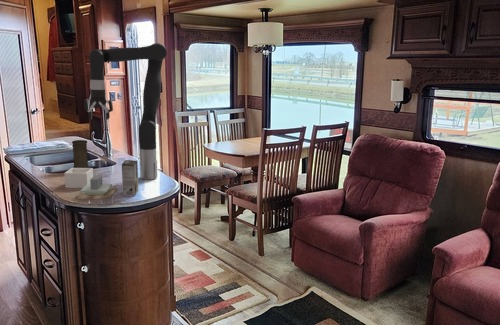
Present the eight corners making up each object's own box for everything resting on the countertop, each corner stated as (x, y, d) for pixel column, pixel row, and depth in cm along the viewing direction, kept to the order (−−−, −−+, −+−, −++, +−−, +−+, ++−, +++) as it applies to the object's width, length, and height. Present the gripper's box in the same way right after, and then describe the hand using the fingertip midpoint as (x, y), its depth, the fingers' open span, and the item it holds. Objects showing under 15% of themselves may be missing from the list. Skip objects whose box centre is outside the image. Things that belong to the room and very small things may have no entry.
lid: (112, 188, 215) (111, 174, 213) (106, 195, 203) (105, 180, 201) (88, 188, 214) (87, 174, 212) (80, 195, 202) (79, 180, 200)
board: (117, 189, 217) (117, 187, 217) (109, 199, 201) (109, 197, 201) (85, 189, 216) (85, 187, 216) (75, 198, 200) (75, 196, 200)
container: (83, 173, 246) (82, 142, 242) (70, 171, 248) (68, 141, 244) (92, 169, 255) (90, 140, 251) (79, 168, 257) (77, 139, 253)
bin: (93, 182, 228) (92, 168, 226) (87, 188, 217) (86, 173, 215) (72, 182, 227) (71, 167, 225) (65, 187, 216) (64, 172, 215)
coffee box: (125, 190, 216) (125, 159, 212) (138, 190, 216) (137, 160, 213) (122, 195, 207) (121, 164, 203) (135, 195, 208) (134, 164, 204)
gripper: (113, 88, 225) (114, 118, 228) (86, 87, 223) (87, 118, 227) (109, 89, 217) (111, 120, 221) (81, 88, 216) (83, 119, 220)
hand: (99, 119), depth 224 cm, fingers open, 8 cm apart
